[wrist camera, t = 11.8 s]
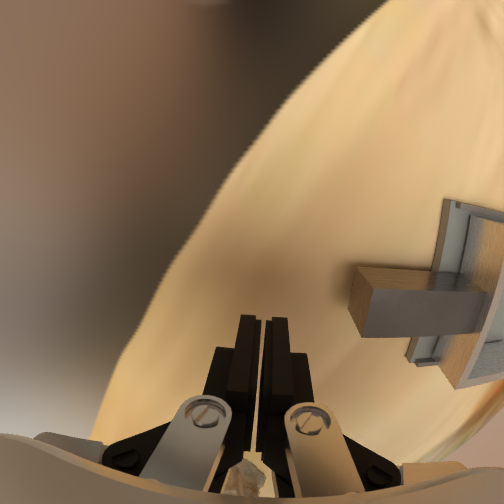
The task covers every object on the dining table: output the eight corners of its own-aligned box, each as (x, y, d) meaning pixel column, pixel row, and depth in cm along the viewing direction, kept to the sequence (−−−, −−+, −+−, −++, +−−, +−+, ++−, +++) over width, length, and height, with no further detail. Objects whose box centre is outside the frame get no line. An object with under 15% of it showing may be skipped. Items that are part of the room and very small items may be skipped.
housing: (501, 347, 19) (524, 372, 14) (335, 360, 19) (346, 401, 15) (536, 230, 15) (569, 243, 11) (365, 197, 16) (393, 207, 12)
